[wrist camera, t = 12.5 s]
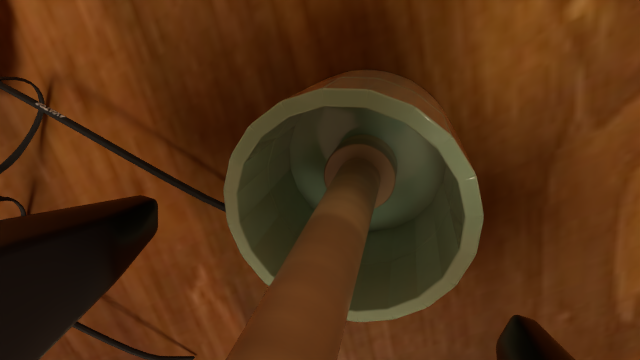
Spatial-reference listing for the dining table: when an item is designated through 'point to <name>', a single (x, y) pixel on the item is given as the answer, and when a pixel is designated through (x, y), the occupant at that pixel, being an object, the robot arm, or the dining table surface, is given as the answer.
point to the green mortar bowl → (387, 220)
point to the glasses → (119, 151)
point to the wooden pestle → (322, 260)
